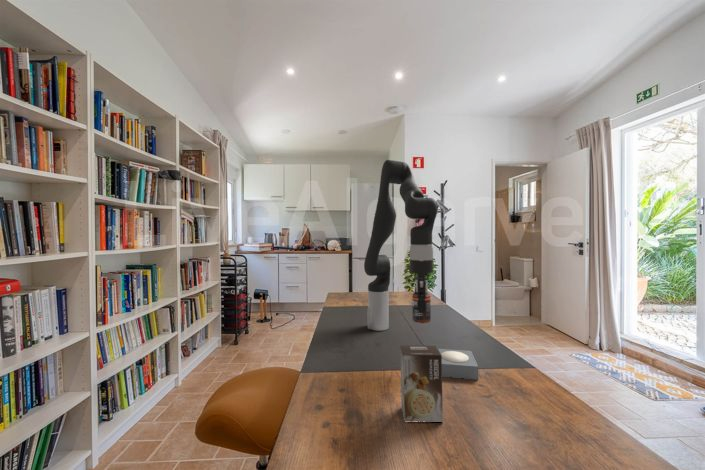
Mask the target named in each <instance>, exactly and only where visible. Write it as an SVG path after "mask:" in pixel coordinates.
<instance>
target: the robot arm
mask: <svg viewBox="0 0 705 470" xmlns="http://www.w3.org/2000/svg"><path fill="white" fill-rule="evenodd" d="M380 173H381V174H380V181H379V188H378V189H379V190H378V198H377V202H376V207H375V212H374V217H373V222H372V223H373V224H372V229H371V236H370V239H369V244H368V247H367V251H366V254H365V258H364V264H363V265H364V266H363V269H364V272H365V274H366V276H369V277H374V276H375V278H374V279H373V281H371V282H370V283H368V285H367V297H368V300H367V303H368V305H367V310H366V311H367V316H366V317H367V329H368V330H372V331H377V332H378V331H386V330H388V329H389V328H390V327H389V321H390V320H389V319H390V317H389V313H390V312H389V308H390V307H389V304H390V303H389V287H390V283H391V282H390V281H391V262H390V259H389V257H388V255H386V254H380V251H381V250H382V247H383V245H384V244H385V242H387V240H388V239H389V238H390V236H391V235H392V234H393V232H394V229H395V225H396V220H397V213H396V209H395V206H394V204H393V201H392V199H391V197H390V184H393V185H400V186H399V195H400V197H401V199H402V200H403V202H404V213H405V215H406V217H407V218H409V219H411V220H423V222H422V223H421V224H420V225H415V226H413V227H411V228H410V245H409V247H410V248H409V272H410V273H411V274H417V276H416V277H414V278H415V280H414V281H415V282H414V284H415V287H416V292H417V293H418V296H417V299H418V311H419V312H425V300H426V293H428V284H429V281H428V280H429V279H428V277H426V275H427V274H428V275H429V274H432V273H433V272H434V250H433V230H434V226H435V225H434V224H435V221H436V218H437V215H438V211H439V206H438V202H437V201H436V200H435V199H434V198H433V197H425V195H424V192H423V191H422V190H421V188H420V187H419V185H418V184H417V183H416V180H415V178H414V175H413V171H412V169H411V167H410V164H408V163H407V162H403V161H398V160H391V159H386V160H384V162H383V165H382V168H381V172H380ZM419 293H424V295H419Z"/></svg>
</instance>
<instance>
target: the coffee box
mask: <svg viewBox="0 0 705 470" xmlns="http://www.w3.org/2000/svg"><path fill="white" fill-rule="evenodd" d="M438 349H439V348H437V347H436V345H405V344H403V345H401V344H400V349H399V350H400V393H401V395H400V397H401V401H400V404H401V406H400V407H402V408H401V412H403V413H402V417H404V418H403V421H404V420H405V421H418V422H419V421H420V422H423V421H425V422H443V423H444V411H443V410H444V409H443V405H444V404H443V377H442V355H441V354H440V352H439V350H438Z"/></svg>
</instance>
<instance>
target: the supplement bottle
mask: <svg viewBox="0 0 705 470" xmlns="http://www.w3.org/2000/svg"><path fill="white" fill-rule="evenodd" d="M419 295H424V293H419ZM417 296H418V293H417V292H416V286H414V292H413V293H412V298H411V299H412V302H411V304H412V309H411V310H412V321H413V322H415V323H418V324H428V323H430V322H432V321H431V319H432V311H431V308H432V307H431V302H432V301H431V294H430V293H428V292H427V293H426V300H425V312H419V311H418V299H417Z"/></svg>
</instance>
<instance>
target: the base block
mask: <svg viewBox="0 0 705 470" xmlns="http://www.w3.org/2000/svg"><path fill="white" fill-rule="evenodd" d="M437 349H438V350H439V352H440V354H441V355H442V378H450V377H452V379H461V378H464V380H475V381H479V365H478V363H477V361H476V359H475V357H474V354H473V352H472V350H462V349H447V348H437Z"/></svg>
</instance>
